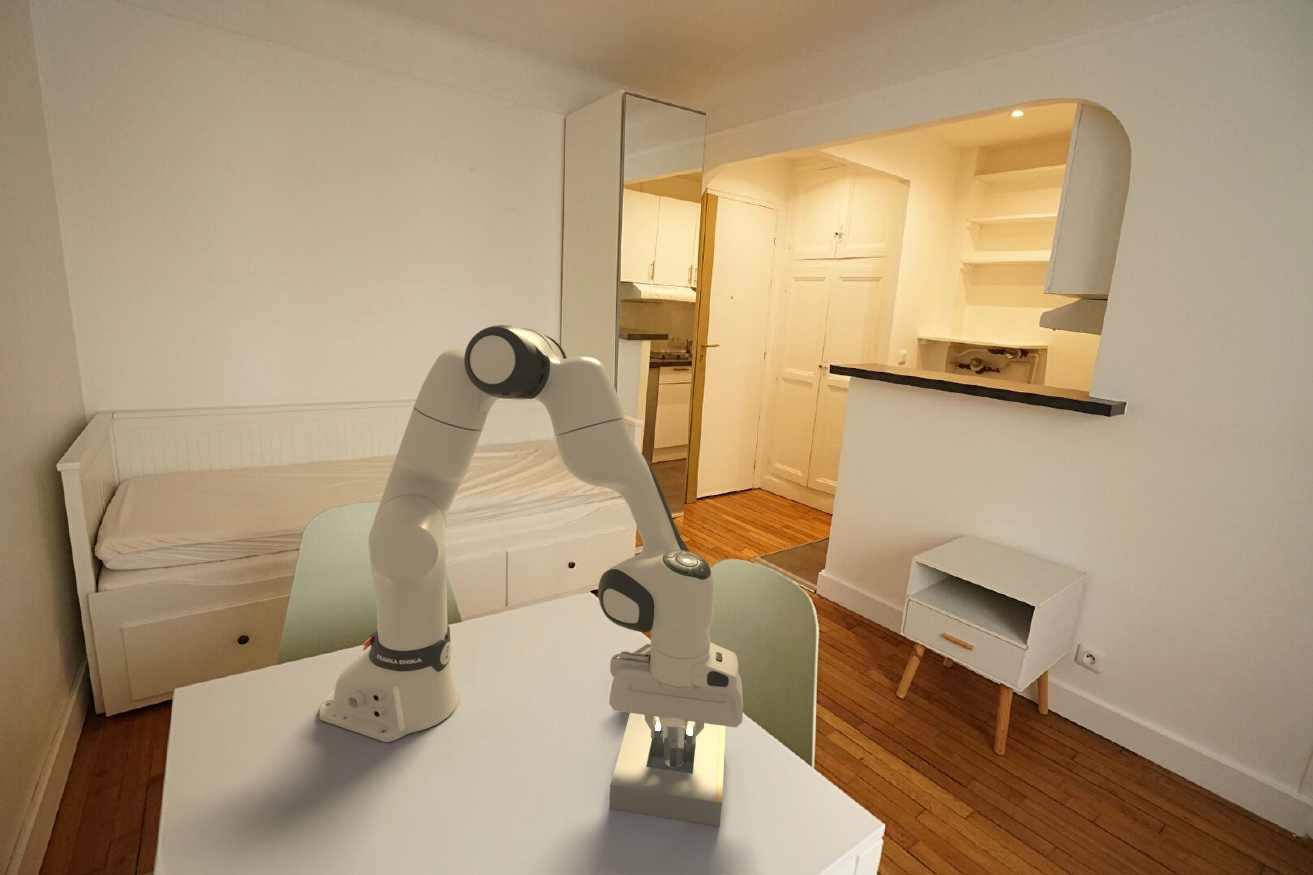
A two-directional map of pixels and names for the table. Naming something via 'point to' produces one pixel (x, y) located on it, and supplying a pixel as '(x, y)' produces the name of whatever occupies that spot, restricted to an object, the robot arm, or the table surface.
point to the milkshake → (673, 740)
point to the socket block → (669, 776)
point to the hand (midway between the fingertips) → (673, 738)
